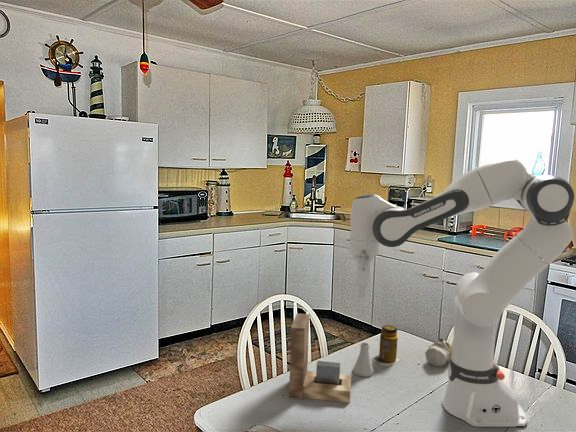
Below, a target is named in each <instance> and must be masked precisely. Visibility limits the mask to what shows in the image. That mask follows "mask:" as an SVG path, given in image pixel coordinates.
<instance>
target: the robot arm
mask: <svg viewBox="0 0 576 432" xmlns="http://www.w3.org/2000/svg"><path fill="white" fill-rule="evenodd" d="M508 200H515V201H516V202H517V203H518V204H519V205H520V206H521V207H522V208H523V209H524V210H526V211H527V212H528V213H529V215H530V218H529V221H528V223H527V224H526V225H525V227H524V228H523V229H521V230H520V231H519V232H518V233H517V234H516V235H514V236H513V237H512V238H511V239H510V240H509V241H508V242H507V243H506V244H504V245H503V246H502V247H501V248H500V249H499V250H498V251H496V252H495V253H494V254H493V256H492V258H491V259H490V260H489V261H488V263H487V264H486V265H485V266H484V268H483V269H482V270H481V271H480V272H476V271H472V272H468V273H465V274H463V275H461V277H460V278H459V280H458V281H457V284H456V285H455V296H454V311H453V313H454V315H453V333H452V334H453V336H452V337H453V338H452V345H451V349H452V356H451V358H450V359H449V363H448V369H447V370H448V373H447V375H448V381H447V386H446V389H445V393H444V395H443V398H442V400H441V404H442V408H444V410H445V411H446V412H448V413H449V414H450V415H453V416H454V417H456V418H458V419H460V420H463V421H464V422H465V423H468V424H469V425H470V426H473V427H477V428H479V427H480V428H481V427H482V428H483V427H485V428H486V427H487V428H488V427H489V428H490V427H491V428H492V427H494V428H495V427H497V428H498V427H503V428H504V427H505V428H506V427H508V428H509V427H510V428H513V427H516V426H524V427H526V426H525V425H527V424H528V423H527V422H528V420H527V419H528V417H527V414H526V412H525V411H524V409H523V408H522V407H521V405H520V404H519V401H518V397H517V396H516V395H517V394H516V393H515V392H514V390H513V389H512V388H511V387H510V385H508V384H507V383H506V382H504V381H503V380H505V379H506V376H505V373H504V372H503V371H502V370H500V368H499V367H498V366H497V365H496V364H495V363H494V355H495V344H496V331H495V330H496V327H495V326H496V325H495V324H496V323H497V322H498V321H499V320H500V318H501V315H502V314H503V312H504V311H505V310H506V309H507V308H508V306H509V305H510V304H511V303H512V302H513V301H514V300H515V298H517V296H518V295H519V293H520V292H521V291H522V290H523V288H525V286H527V285H528V284H529V283H530V282H531V281H532V280H533V279H535V278H536V277H537V276H538V275H539V274H540V273H542V272H543V271H544V270H545V269H546V268H547V267H549V265H550V264H552V263H553V262H554V261H556V259H557V258H558V257H559V256H560V255H561V254H562V253H563V252H564V251H565V250H566V248H567V247H568V246H569V244H570V243H571V242H572V241H573V239H574V231H573V228H572V226H571V224H569V223H568V219H569V216H570V213H571V210H572V207H573V205H574V202H575V192H574V189H573V187H572V185H571V184H570V183H569V181H568V180H566V179H564V178H562V177H560V176H555V175H551V174H530V173H528V171H527V169H526V167H525V165H524V164H523V163H522V162H521V161H519V160H517V159H515V158H510V157H509V158H505V159H500V160H497V161H493V162H490V163H486V164H484V165H481V166H478V167H476V168H474V169H471V170H470V171H467V172H465V173H463V174H462V175H460V176H459V177H457V178H456V179H454V180H453V181H451V182H450V184H449V185H448V186H447V187H446V188H444V190H443V191H442V192H441V193H439V194H437V195H436V196H434V197H432V198H430V199H428V200H425V201H424V202H421V203H419V204H417V205H414V206H412V207H409V208H407V209H406V208H404V207H401V206H398V205H396V204H393V203H390V202H389V201H387V200H385V199H383V198H382V197H381V196H380V195H378V194H376V193H371V194H370V193H369V194H363V195H359V196H357V197H355V198H354V199H353V201H352V204H351V209H350V219H349V220H350V221H349V224H350V233H349V237H348V238H349V239H348V241H349V242H348V243H349V244H348V253H349V254H350V255H352V259H353V260H355V262H356V263H355V265H356V279H355V280H356V281H355V284H356V286H357V287H358V297H359V298H360V299H361V298H362V299H364V298H366V290H367V287H369V285H370V277H371V276H370V275H371V274H370V273H371V261H374V260H375V257H376V256H378V255H379V254H380V253H379V249H380V244H381V245H382V246H385V247H388V248H396V247H400V246H401V245H403V244H404V243H405V242H407V241H408V240H409V239H410V237H411V236H412V235H413V234H415V233H416V232H418V231H421V230H422V229H424V228H426V227H429V226H431V225H434V224H436V223H438V222H441V221H443V220H446V219H448V218H451V217H455V216H459V215H464V214H467V213H472V212H477V211H480V210H484V209H486V208H489V207H492V206H494V205H497V204H499V203H501V202H504V201H508ZM526 423H527V424H526Z"/></svg>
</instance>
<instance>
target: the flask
mask: <svg viewBox="0 0 576 432" xmlns="http://www.w3.org/2000/svg"><path fill="white" fill-rule="evenodd" d="M370 345H371V344H370V343H369V342H366V341H365V342H364V341H363V342H360V343H359V346H360V351H359V354H358V357H357V359H356V362H355V363H354V365H353V367H352V373H353V374H354V375H356V376H359V377H362V378H363V377H365V378H366V377H372V376H373V375H374V374H375V371H374V367H373V365H372V360H371V358H370V357H371V356H370V352H369V349H370Z"/></svg>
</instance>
